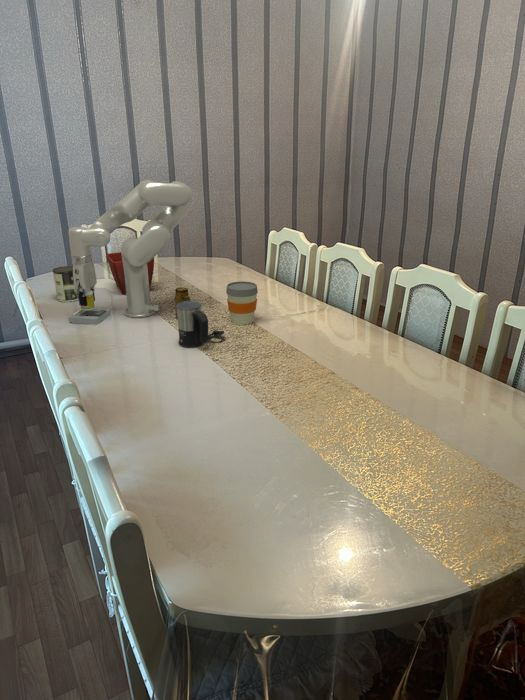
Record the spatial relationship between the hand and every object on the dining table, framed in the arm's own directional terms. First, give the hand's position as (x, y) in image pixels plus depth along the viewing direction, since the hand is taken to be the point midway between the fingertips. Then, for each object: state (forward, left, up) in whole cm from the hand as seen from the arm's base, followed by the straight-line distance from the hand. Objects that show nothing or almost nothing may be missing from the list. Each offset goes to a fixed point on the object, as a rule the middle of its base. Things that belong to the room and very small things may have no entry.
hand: (87, 302), depth 211 cm
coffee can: (+23, -23, -7) cm, 33 cm away
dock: (0, 0, -7) cm, 7 cm away
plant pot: (0, -42, -7) cm, 43 cm away
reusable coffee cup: (-62, -10, -7) cm, 63 cm away
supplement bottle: (0, 0, -3) cm, 3 cm away
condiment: (-37, -10, -7) cm, 39 cm away
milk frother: (-52, +13, -7) cm, 55 cm away
